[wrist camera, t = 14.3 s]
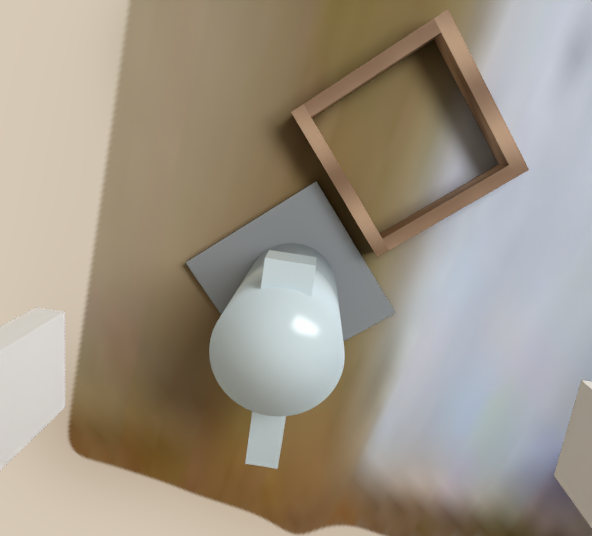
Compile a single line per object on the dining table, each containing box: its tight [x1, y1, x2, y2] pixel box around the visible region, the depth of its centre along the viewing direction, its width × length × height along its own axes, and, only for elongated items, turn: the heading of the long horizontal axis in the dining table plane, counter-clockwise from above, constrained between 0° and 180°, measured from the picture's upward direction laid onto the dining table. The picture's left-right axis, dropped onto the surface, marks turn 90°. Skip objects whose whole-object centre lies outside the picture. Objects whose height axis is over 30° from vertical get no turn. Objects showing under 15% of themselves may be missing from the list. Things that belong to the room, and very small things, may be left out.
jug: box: [209, 243, 345, 469], centre depth 31 cm, size 13×7×13 cm, turn 172°
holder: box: [291, 9, 529, 257], centre depth 33 cm, size 12×12×2 cm
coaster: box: [186, 181, 395, 341], centre depth 37 cm, size 12×12×1 cm
